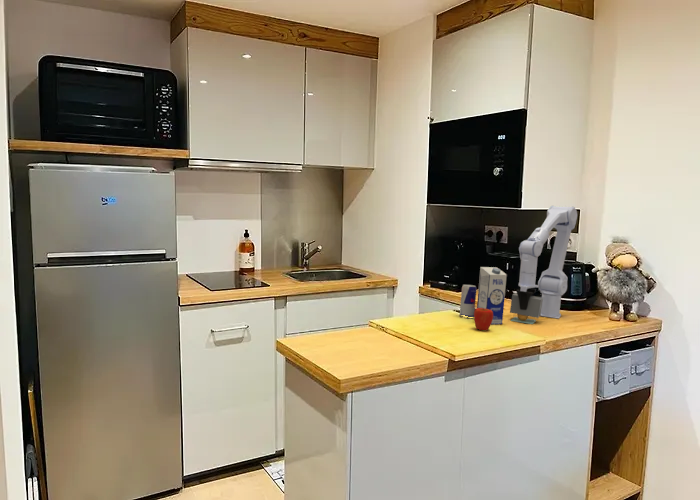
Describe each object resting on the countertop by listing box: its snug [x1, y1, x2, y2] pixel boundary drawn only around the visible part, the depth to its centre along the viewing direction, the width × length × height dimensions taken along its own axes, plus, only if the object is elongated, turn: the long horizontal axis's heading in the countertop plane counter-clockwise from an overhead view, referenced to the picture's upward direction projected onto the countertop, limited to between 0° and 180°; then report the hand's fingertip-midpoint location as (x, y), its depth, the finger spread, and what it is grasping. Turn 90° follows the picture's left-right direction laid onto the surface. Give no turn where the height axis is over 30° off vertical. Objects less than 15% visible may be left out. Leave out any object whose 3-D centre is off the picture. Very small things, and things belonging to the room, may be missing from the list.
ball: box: [516, 314, 529, 321], centre depth 196 cm, size 4×4×4 cm
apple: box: [473, 307, 493, 331], centre depth 177 cm, size 6×6×8 cm
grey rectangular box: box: [509, 292, 543, 319], centre depth 196 cm, size 6×10×7 cm, turn 62°
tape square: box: [510, 316, 537, 325], centre depth 197 cm, size 8×8×1 cm
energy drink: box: [459, 284, 477, 317], centre depth 196 cm, size 5×5×12 cm
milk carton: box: [476, 266, 508, 325], centre depth 189 cm, size 7×7×20 cm
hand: (524, 308), depth 196 cm, fingers closed on grey rectangular box, 6 cm apart
